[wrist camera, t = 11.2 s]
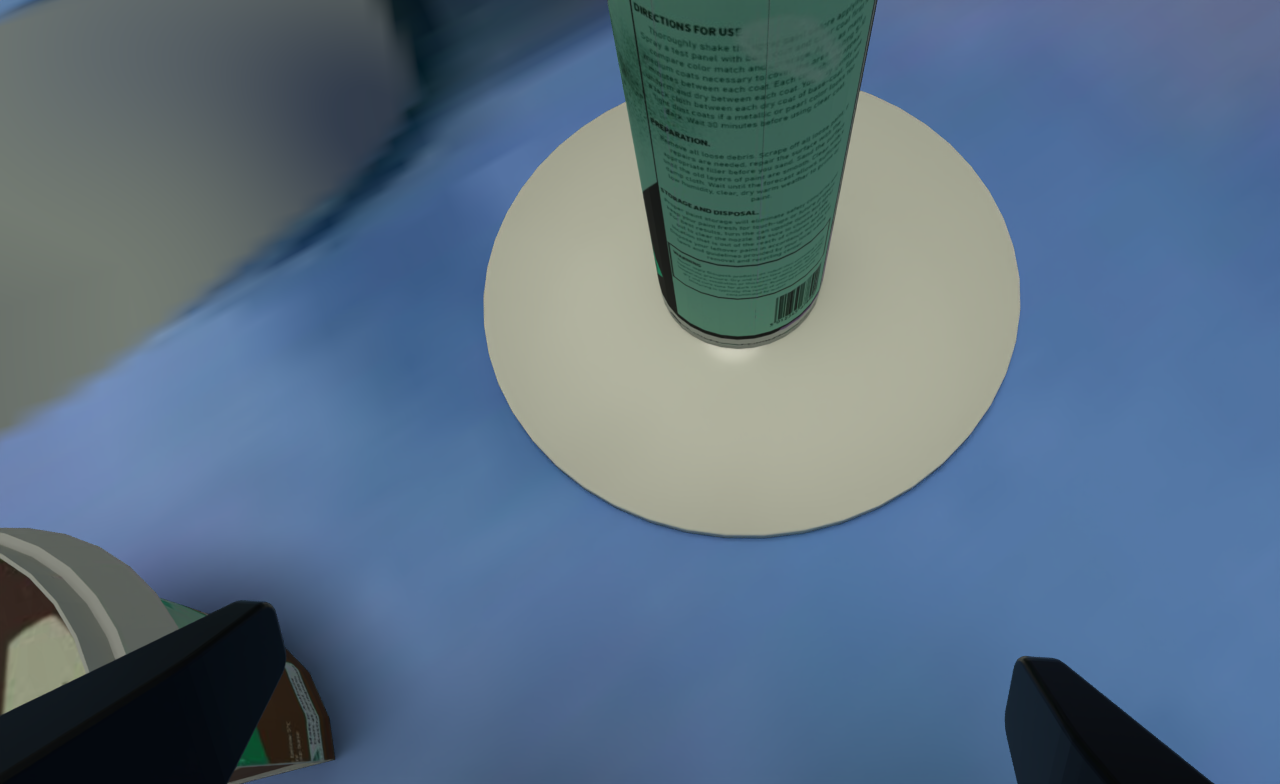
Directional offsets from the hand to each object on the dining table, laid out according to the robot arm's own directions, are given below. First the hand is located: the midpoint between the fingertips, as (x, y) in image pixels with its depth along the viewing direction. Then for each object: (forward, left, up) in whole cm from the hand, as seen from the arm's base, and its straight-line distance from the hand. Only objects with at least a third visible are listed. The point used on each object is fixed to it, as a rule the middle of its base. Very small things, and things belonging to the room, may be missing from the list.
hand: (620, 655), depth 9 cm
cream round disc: (+9, -10, -14) cm, 19 cm away
